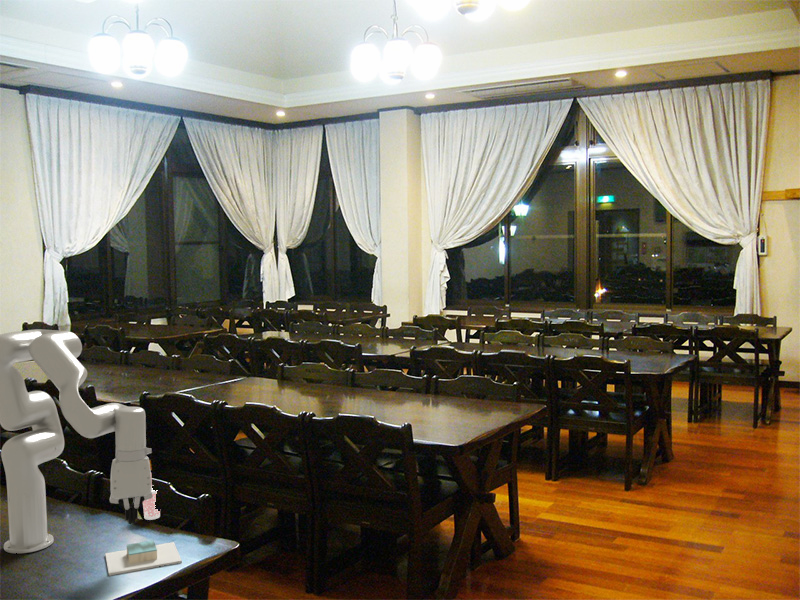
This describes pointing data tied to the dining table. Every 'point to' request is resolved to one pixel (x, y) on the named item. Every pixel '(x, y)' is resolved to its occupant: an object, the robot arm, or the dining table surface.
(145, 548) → the tan notched wooden block
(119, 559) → the off-white board
